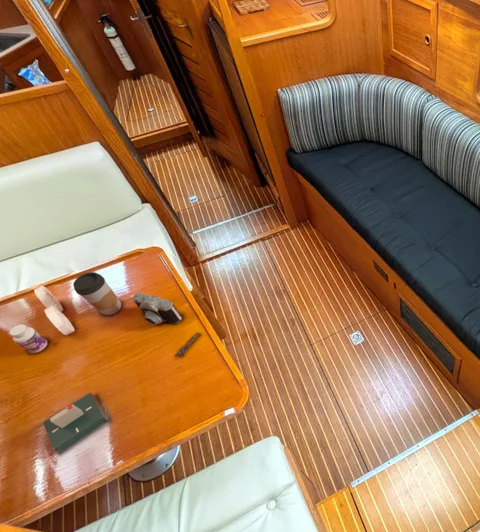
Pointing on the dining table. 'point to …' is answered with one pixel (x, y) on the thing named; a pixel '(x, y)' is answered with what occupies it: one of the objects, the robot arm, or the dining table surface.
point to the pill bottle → (28, 338)
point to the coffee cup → (97, 293)
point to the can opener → (188, 344)
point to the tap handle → (66, 416)
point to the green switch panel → (76, 424)
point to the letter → (54, 310)
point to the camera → (157, 309)
